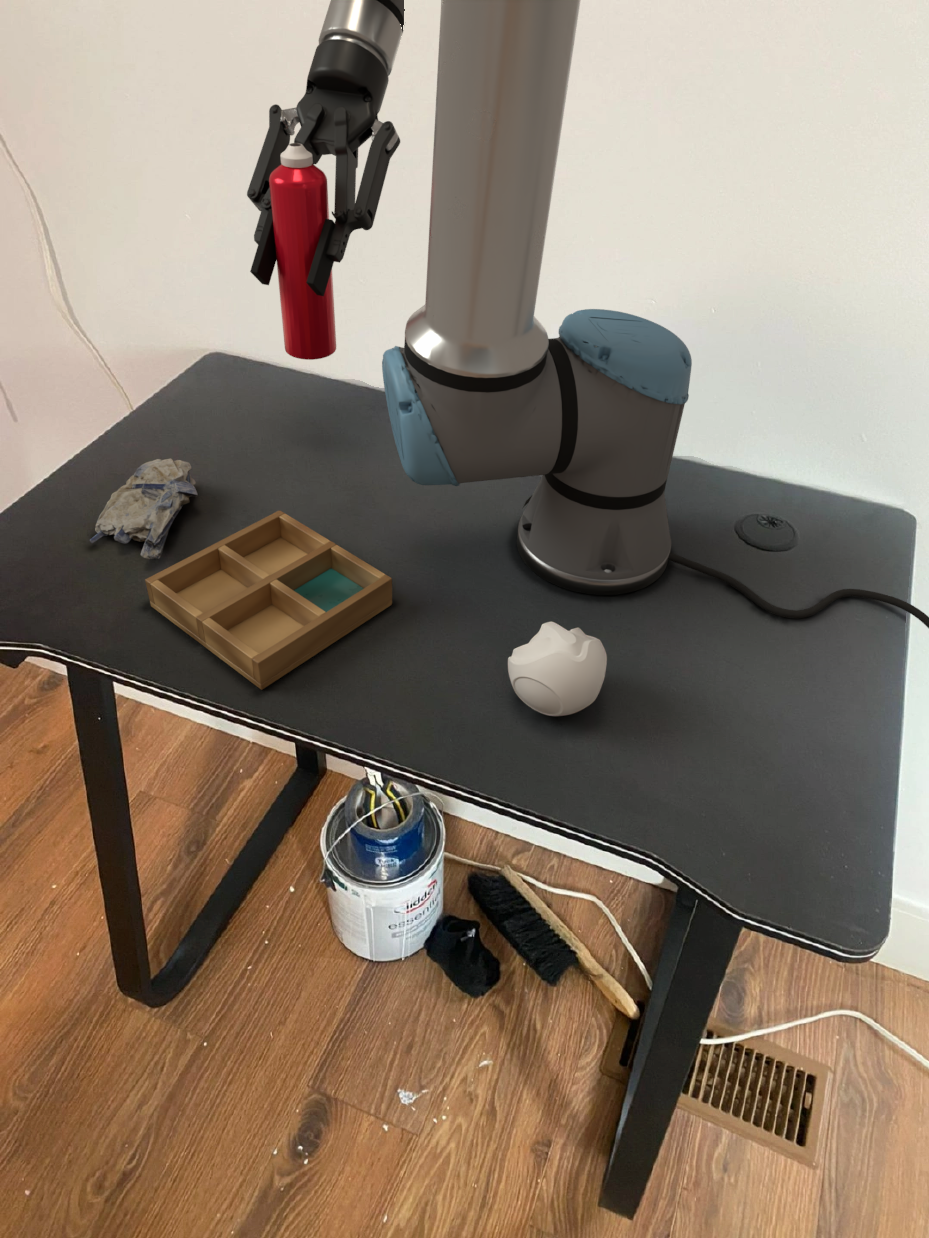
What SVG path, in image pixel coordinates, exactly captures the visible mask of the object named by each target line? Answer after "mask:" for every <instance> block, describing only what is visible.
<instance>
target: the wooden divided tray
mask: <svg viewBox="0 0 929 1238" xmlns="http://www.w3.org/2000/svg"><path fill="white" fill-rule="evenodd" d="M144 582H145V586H146V590H147V594H148V599H149V605H150V607H151V608H153V609H154V610H155V611H156V612H158V613H160V614H161V616H163V617H165V618H166V619H167V620H169V621H170V622H171V623H173V624H174V625H175V626H177V627H178V628H179V629H181V631H183V632H184V633H186V634H187V635H189V637H191V638H192V639H193V640H195V641H196V642H198V643H199V644H200V645H202V646H203V647H204V648H205V649H207V650H208V651H210V652H211V653H212V654H213V655H215V656H216V657H217V658H219V659H220V660H221V661H223V663H225V664H227V666H229V667H231V668H232V669H233V670H234V671H236V672H237V673H238V674H240V675H241V676H243V677H244V678H245V679H247V680H248V681H249V682H251V683H252V684H253V685H254V686H255V687H257V688H258V689H259V690H261V691H263V690H264V689H266V688H267V687H269V686H270V685H272V684H273V683H275V682H276V681H278V680H279V679H280V678H282V677H284V676H285V675H287V674H288V673H290V672H292V671H293V670H294V669H296V668H298V667H299V666H301V665H302V664H303V663H305V662H307V661H308V660H310V659H311V658H312V657H314V656H316V655H317V654H319V653H320V652H322V651H324V650H325V649H327V648H328V647H330V646H331V645H333V644H334V643H336V642H337V641H338V640H340V639H342V638H343V637H345V636H346V635H348V634H349V633H352V631H354V630H355V629H357V628H358V627H360V626H362V625H363V624H365V623H366V622H368V621H370V620H371V619H372V618H373V617H375V616H376V615H379V614H380V613H381V612H383V611H384V610H386V609H387V608H389V607H390V606H392V605H393V578H392V577H390V576H389V575H387V574H385V573H384V572H383V571H380V569H377V568H375V567H374V566H373V565H371V564H369V563H367V562H366V561H364V560H363V559H361V558H359V557H358V556H356V555H355V554H353V553H351V552H350V551H348V550H346V549H344V548H343V547H341V546H340V545H338V544H336V543H335V542H334V541H331V540H329V539H328V538H327V537H325V536H323V535H321V534H320V533H318V532H317V531H315V530H313V528H310V527H308V526H307V525H305V524H304V523H302V522H300V521H298V520H297V519H295V518H293V517H292V516H290V515H288V514H287V513H285V512H284V511H282V510H277V511H275V512H273V513H272V514H270V515H267V516H265V517H264V518H262V519H260V520H258V521H256V522H254V523H252V524H250V525H248V526H246V527H244V528H243V529H240V530H238V531H237V532H235V533H232V534H230V535H229V536H227V537H225V538H223V539H221V540H219V541H217V542H215V543H213V544H211V545H209V546H207V547H205V548H203V549H202V550H199V551H198V552H195V553H193V554H192V555H190V556H188V557H186V558H184V559H182V560H180V561H178V562H176V563H175V564H172V565H170V566H168V567H167V568H165V569H163V570H161V571H158V572H157V573H155V574H153V575H151V576H149V577H147V578H145V579H144Z"/></svg>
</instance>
